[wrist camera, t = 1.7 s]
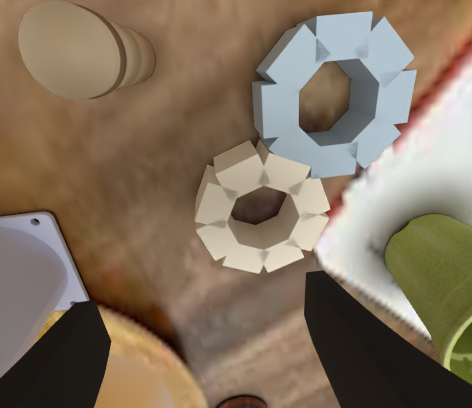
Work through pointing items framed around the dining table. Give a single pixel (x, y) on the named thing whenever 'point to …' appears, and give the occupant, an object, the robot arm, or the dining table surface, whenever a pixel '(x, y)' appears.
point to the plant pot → (438, 283)
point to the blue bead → (361, 91)
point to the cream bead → (270, 231)
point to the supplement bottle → (243, 403)
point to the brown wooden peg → (82, 51)
